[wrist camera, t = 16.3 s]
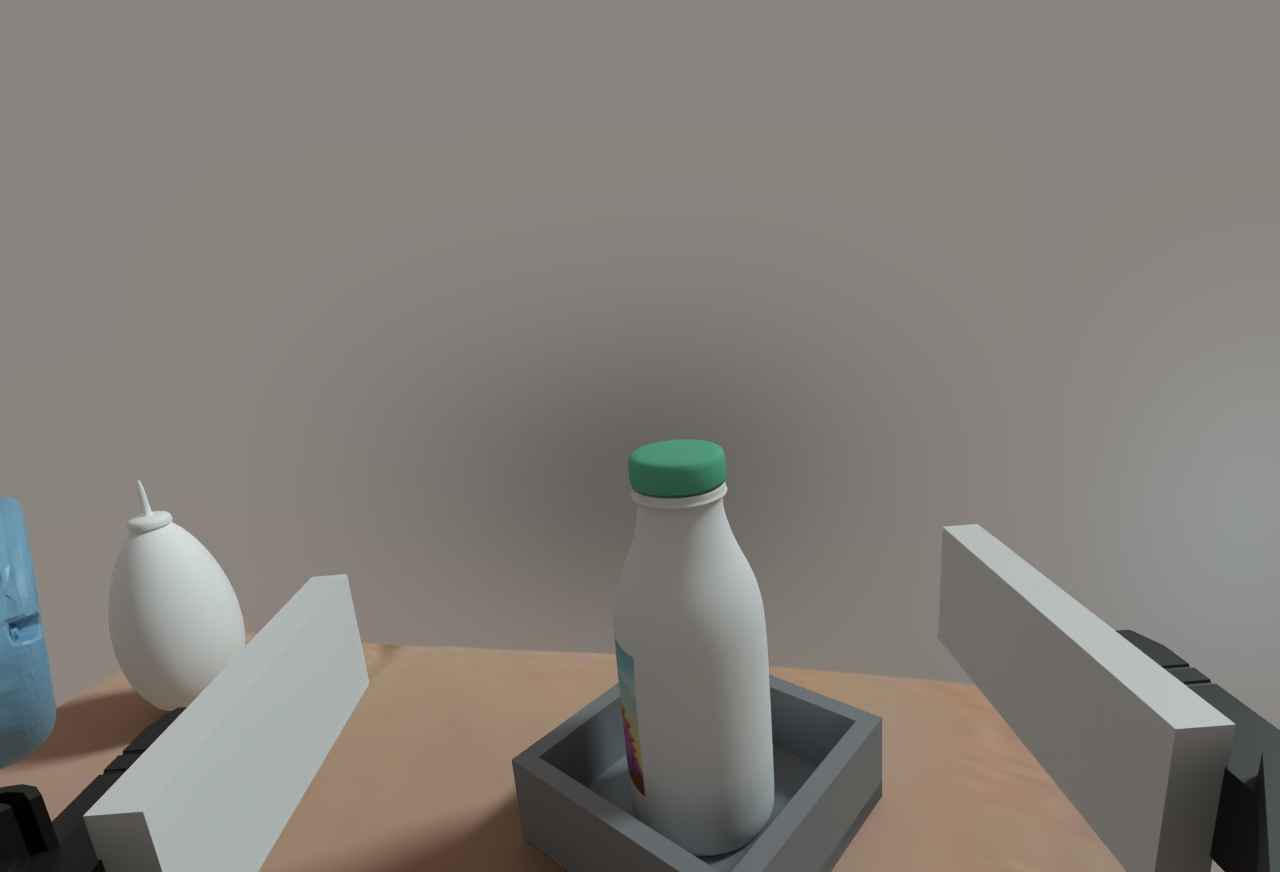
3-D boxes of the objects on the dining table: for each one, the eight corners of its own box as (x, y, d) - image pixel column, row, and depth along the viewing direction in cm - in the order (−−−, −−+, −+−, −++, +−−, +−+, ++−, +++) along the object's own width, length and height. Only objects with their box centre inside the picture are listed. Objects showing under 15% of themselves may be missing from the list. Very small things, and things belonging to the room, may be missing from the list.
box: (523, 837, 37) (511, 759, 36) (683, 704, 47) (677, 639, 46) (740, 1005, 28) (734, 907, 27) (881, 795, 38) (882, 717, 37)
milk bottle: (795, 778, 39) (783, 433, 34) (739, 886, 32) (713, 482, 27) (675, 737, 43) (647, 425, 38) (604, 827, 36) (560, 466, 31)
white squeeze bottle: (280, 688, 54) (225, 467, 49) (174, 752, 47) (100, 505, 43) (223, 666, 58) (168, 460, 53) (118, 723, 51) (45, 493, 47)
